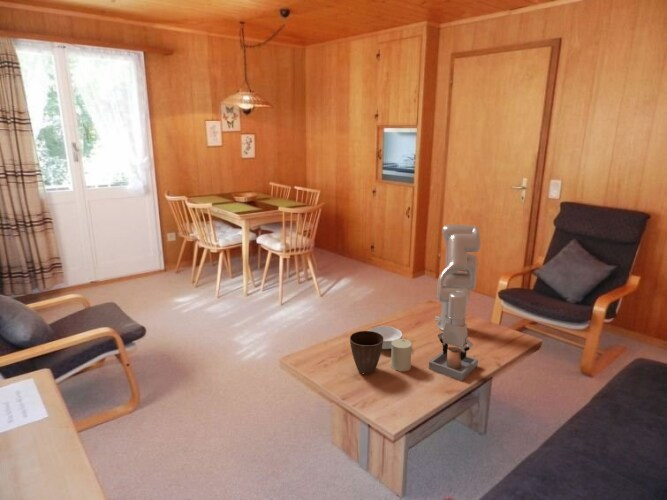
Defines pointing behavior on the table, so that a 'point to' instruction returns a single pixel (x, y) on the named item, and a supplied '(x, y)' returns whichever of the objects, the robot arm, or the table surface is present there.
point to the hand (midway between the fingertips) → (454, 355)
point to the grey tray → (441, 366)
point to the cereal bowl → (387, 335)
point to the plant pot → (366, 350)
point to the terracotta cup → (454, 357)
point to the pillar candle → (401, 354)
